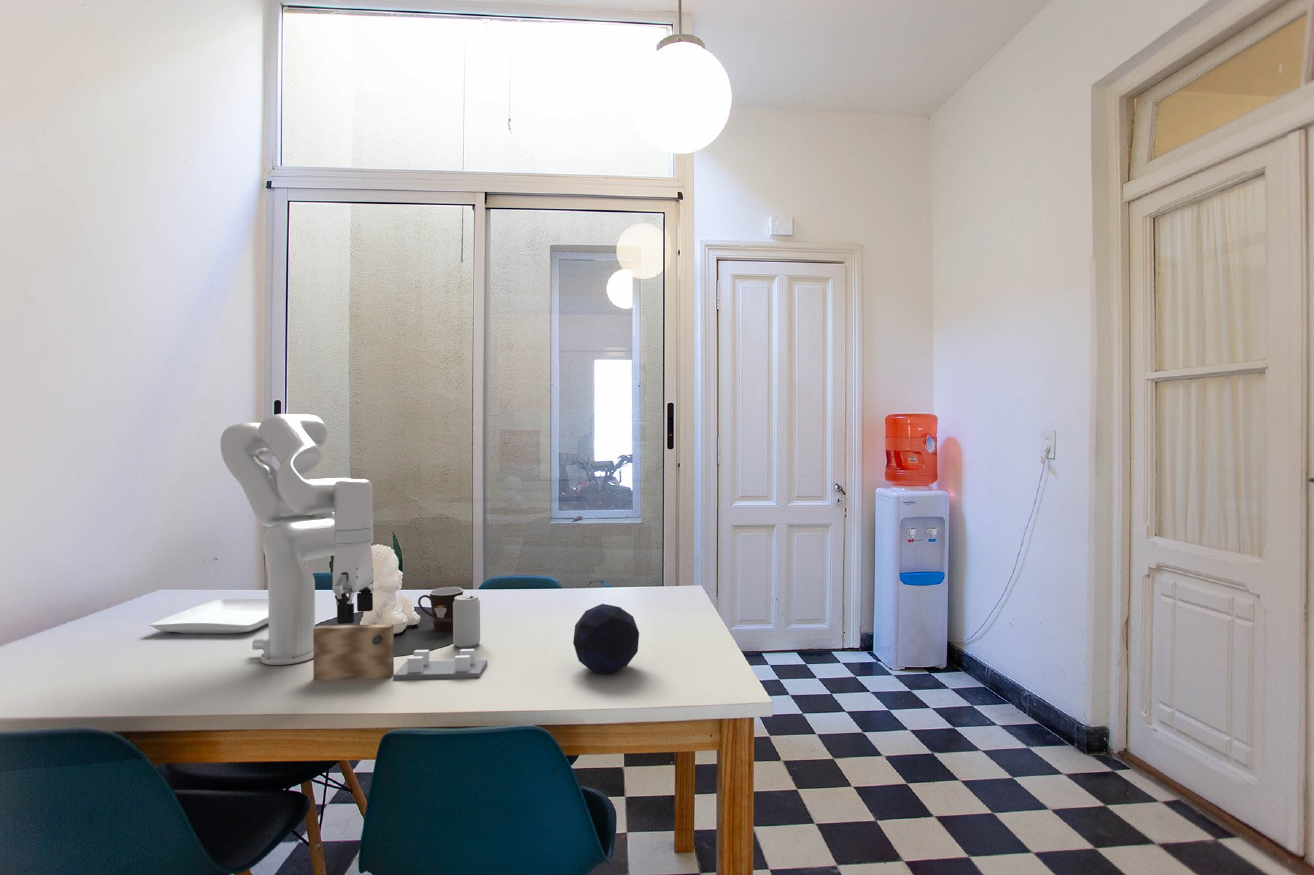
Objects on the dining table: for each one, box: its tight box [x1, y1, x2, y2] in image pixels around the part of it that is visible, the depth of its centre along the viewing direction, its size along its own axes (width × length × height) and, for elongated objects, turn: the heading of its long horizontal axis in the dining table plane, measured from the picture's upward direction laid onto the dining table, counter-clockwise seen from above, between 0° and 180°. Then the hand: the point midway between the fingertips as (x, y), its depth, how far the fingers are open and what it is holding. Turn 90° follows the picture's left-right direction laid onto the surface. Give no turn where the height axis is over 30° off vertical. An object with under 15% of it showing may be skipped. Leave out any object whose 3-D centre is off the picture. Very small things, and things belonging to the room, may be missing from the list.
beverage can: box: [452, 593, 481, 649], centre depth 157 cm, size 6×6×12 cm
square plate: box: [148, 597, 268, 634], centre depth 178 cm, size 27×27×4 cm
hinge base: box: [392, 648, 488, 681], centre depth 139 cm, size 18×8×4 cm, turn 93°
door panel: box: [312, 623, 395, 681], centre depth 136 cm, size 16×3×11 cm, turn 93°
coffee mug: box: [417, 586, 464, 633], centre depth 172 cm, size 12×9×10 cm
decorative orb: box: [572, 603, 640, 675], centre depth 140 cm, size 14×15×15 cm
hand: (355, 616), depth 136 cm, fingers open, 9 cm apart
